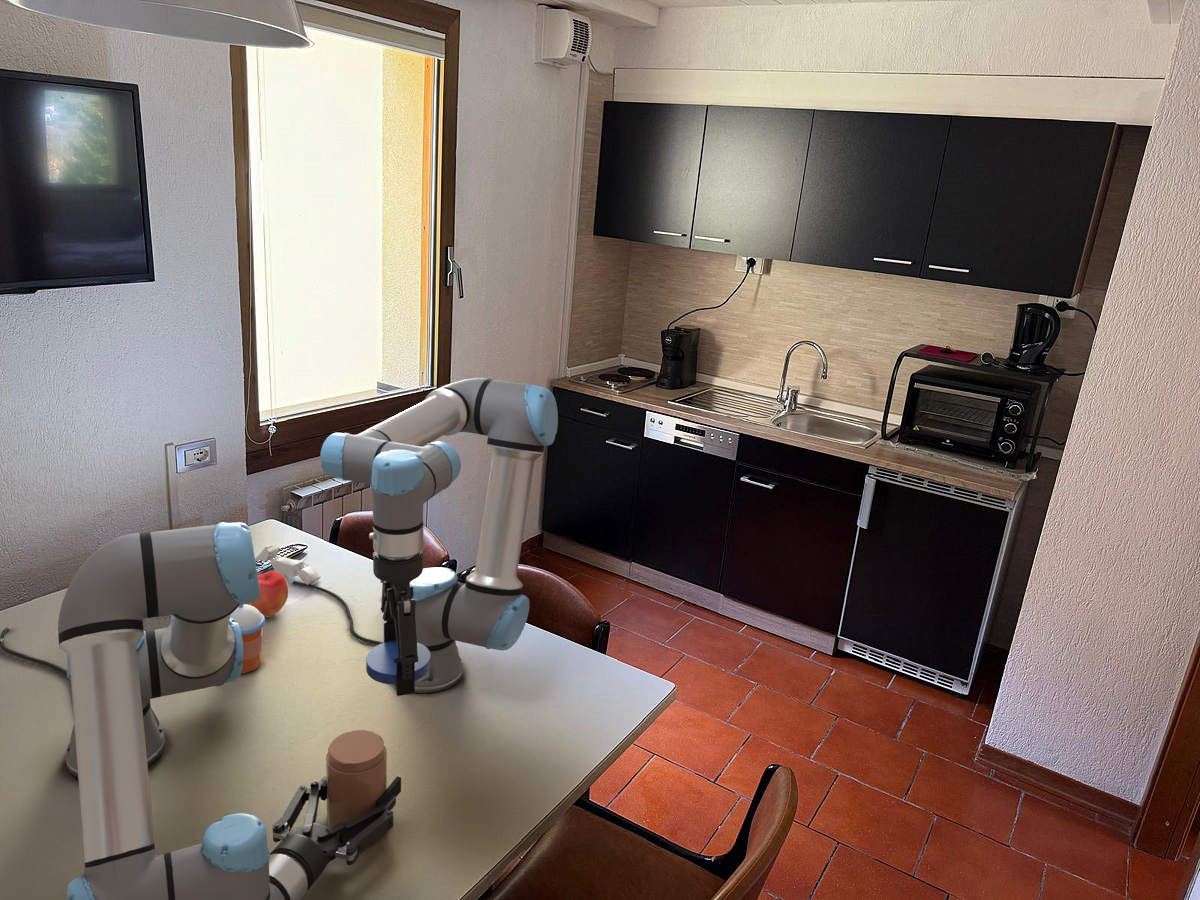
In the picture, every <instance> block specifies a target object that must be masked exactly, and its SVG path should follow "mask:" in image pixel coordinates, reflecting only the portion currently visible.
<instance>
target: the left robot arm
mask: <svg viewBox="0 0 1200 900" xmlns="http://www.w3.org/2000/svg"><path fill="white" fill-rule="evenodd" d="M255 559H256V556H255V551H254V544H253V538H252V532H251V528H250V527H249V526H248V525H247V524H246V523H245V522H239V521H238V522H237V521H236V522H225V521H222V522H218V523H217V524H211V525H210V524H209V525H202V526H194V527H185V528H173V529H166V530H165V529H164V530H156V531H148V532H134V533H128V534H123V535H121V536H118V537H115V538H113V539H112V540H110V541H108V542H106V543H104V544H102V545H101V546H100V547H98V548H97V549H95V551H94V552H92V553H91V554H90V555H89V556H88V557H87V558H86V559H85V561H84V562H83V563H82V564H81V566H80V567H79V568H78V569H77V570H76V572H75V574H74V575H73V578H72V579H71V581H70V583H69V585H68V587H67V589H66V591H65V594H64V597H63V598H62V602H61V606H60V609H59V614H58V621H57V637H58V648H59V650H61V651H62V652H64V653H65V654H67V655H66V657H67V658H66V659H67V660H66V661H67V670H66V669H65V668H63V667H61V666H59V665H56V664H54V663H52V662H50V661H46V660H43V659H40V658H36V657H33V656H29V655H28V654H27V655H26V654H24V653H22V652H18V651H16V650H12V649H10V648H8V647H7V646H6V645H5V638H4V636H5V637H6V635H5V634H7V633H8V632H10V628H9V627H5V628H4V629H3V630H2V631H1V635H0V638H2V639H3V638H4V640H3V642H1V641H0V648H1V649H2V651H3V652H5V653H7V654H9V655H12V656H16V657H18V658H22V659H24V660H27V661H30V662H34V663H37V664H39V665H43V666H46V667H49V668H51V669H53V670H56V671H58V672H60V673H62V675H65V676H66V677H67V679H69V689H70V696H71V706H72V715H73V727H72V730H71V733H70V738H69V739H70V740H69V743H68V745H67V747H66V751H65V752H66V753H65V763H66V768H67V771H68V772H69V773H70V774H71V775H72V776H74V777H76V778H78V792H79V805H80V818H81V830H82V831H81V833H82V845H83V847H82V848H83V859H84V873H83V875H82V874H81V876H79V877H78V878H73V879H72V880H71V881H70V882H69V883H68V885H67V888H66V900H302V898H303V897H304V896H305V895H306V894H307V892H308V891H309V890H311V888H312V886H314V884H315V883H316V882H317V880H318V879H319V878H320V876H321V875H322V874H323V873H324V871H325V869H326V868H327V866H328V864H329V863H331V862H332V861H335V860H336V859H342V860H345V864H346V865H347V866H353V865H354V864H355V862H356V860H357V859H358V857H359V856H360V855H361V854H362V853H363V852H365V851H366V850H367V849H368V848H370V847H371V846H372V845H373V844H374V843H376V842H377V841H378V840H379V839H380V838H382V837H383V836H384V835H386V833H388V832H390V830H392V829H393V827H394V811H393V809H394V808H395V806H396V804H397V797H398V796H399V794H400V793H401V792H402V777H401V776H395V778H394V779H393V781H392V782H391V783H390V784H389V785H388V786H387V789H386V790H385V792H384V793H383V794H382V795H381V796H380V798H379V799H378V800H377V801H376V807H375V808H373V809H371V810H369V811H367V812H365V813H363V814H362V815H360V816H358V817H356V818H354V819H352V820H350V821H348V822H346V823H344V824H343V823H339V824H337V825H335V826H330V825H327V824H324V823H322V822H321V821H317V815H318V810H319V803H320V800H321V801H327V782H326V775H325V776H323V777H322V778H321V779H320V780H319V781H313V782H311V783H310V787H307V785H305V784H304V785H303V784H302V785H300V786H299V787H298V788H297V790H296V792H295V794H294V795H293V797H292V799H291V800H290V802H289V804H288V806H287V808H286V809H285V811H284V813H283V814H282V816H281V817H280V819H279V820H277V821H276V822H275V823H274V824H273V825H272V826H271V828H272V842H274V843H278V844H277V845H276V847H274V849H272V851H271V852H270V848H269V843H268V834H267V827H266V826H265V824H264V822H263V820H261V819H260V818H259V817H257V816H256V815H253V814H250V813H244V812H237V813H231V814H228V815H225V816H223V817H221V818H220V819H219V820H218V821H215V822H213V823H211V824H210V825H209V826H208V827H207V829H206V830H205V831H204V833H203V837H202V842H201V843H198V844H195V845H191V846H187V847H183V848H180V849H177V850H173V851H170V852H166V853H163V854H157V852H156V845H155V843H156V839H155V830H154V818H153V809H152V797H151V787H150V778H149V777H150V776H149V766H150V765H152V764H153V763H155V762H156V761H157V760H158V759H159V758H160V757H161V756H162V754H163V753H164V751H165V748H166V733H165V731H164V728H163V726H162V724H161V722H160V721H159V718H158V716H157V715H156V713H155V712H154V710H153V707H152V705H151V700H152V699H157V698H161V697H166V696H167V697H168V696H172V695H177V694H182V693H186V692H192V691H197V690H202V689H207V688H208V689H209V688H213V687H222V686H225V685H226V684H231V683H233V682H235V681H236V680H238V679H239V677H240V676H241V674H242V673H241V671H242V667H243V662H242V660H243V640H242V634H241V630H240V627H239V625H238V623H237V622H236V620H235V619H233V618H230V615H231V614H232V613H233V612H234V611H235V610H236V609H237V608H238V607H239V605H240V604H241V605H242V604H248V603H249V602H253V601H256V600H257V599H258V598H259V597H260V588H259V581H258V568H257V563H256V562H255ZM166 616H170V624H169V625H168V626H167V627H164V628H163V627H162V628H159V629H158V628H157V629H154V630H147V631H146V630H145V628H144V619H151V618H159V617H166ZM6 632H7V633H6ZM306 803H307V808H306V812H305V816H304V819H303V820H304V821H303V825H302V826H300V827H297V828H295V829H293V828H294V825H295V823H296V822H297V819H298V817H299V816H300V814H301V812H302V810H303V809H304V807H305V805H306ZM337 833H338V834H337ZM351 839H352V840H351ZM349 840H351V842H348V841H349Z"/></svg>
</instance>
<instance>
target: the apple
mask: <svg viewBox="0 0 1200 900" xmlns="http://www.w3.org/2000/svg"><path fill="white" fill-rule="evenodd" d="M257 575H258V581H259V588H260V597H259V598H258V599H257V600H256V601H253V602H249V603H248V604H247V605H251V606H253V607H255V608H256V609H257V610H258V611H259V612H260V613H261V614H263V616H264V617H265V618H269V617H273V616H275V615H276V614H278V613H279V612H280V611H281V610H282V609H283V607H284V606H285V605H286V603H287V600H288V597H289V584H288V581H287V579H286V577H285V575H282V574H281V573H278V572H275V571H268V570H267V571H266V572H264V573H259V574H258V573H257Z"/></svg>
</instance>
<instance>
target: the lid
mask: <svg viewBox="0 0 1200 900" xmlns="http://www.w3.org/2000/svg"><path fill="white" fill-rule="evenodd" d="M417 652H418V662H415V681H416V680H418V679H420V678H422V677H423V676H425V675H426V674H427V672H428V671H429V669H430V660H431V655H430V651H429V650H428V648H427V647H425V646H424V645H422V644H420V643H418V642H417ZM397 657H398V652H397V642H396V640H394V641H388V642H385V643H382V644H379V645H376V646H374V647H372V648H371V649H370V650H369V651H368V652H367V655H366V657H365V663H366V664H365V670H366V673H367V676H369V678H370V679H372V680H373V681H375V682H378V683H381V684H384V685H392V686H393V685H394V686H396V663H394V661H393V659H395V658H397Z"/></svg>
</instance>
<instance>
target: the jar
mask: <svg viewBox="0 0 1200 900" xmlns="http://www.w3.org/2000/svg"><path fill="white" fill-rule="evenodd" d="M385 745H386V744H385V742H384V739H383V737H382V736H381V735H380V734H379V733H377V732H374V731H372V730H366V729H354V730H349V731H346V732H344V733H341V734H339V735H338V736H336V737H334V739H333V740H332V741H331V742H330V743H329V745H328V748H327V753H326V755H325V769H326V770H325V772H326V773H325V776H326V782H327V799H326V823H327V824H326V825H330V826H335V825H337V824H339V823H343V824H344V823H346V822H348V821H350V820H352V819H354V818H356V817H358V816H360V815H362V814H363V813H365V812H367V811H369V810H371V809H373V808H375V807H376V801H377V800H378V799H379V798H380V796H381V795H382V794H383V793H384V792H385V790H386V789H387V788H388V750H387V747H386V746H385ZM337 834H338V833H337ZM351 840H352V839H351ZM351 840H349V841H348V842H351Z"/></svg>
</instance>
